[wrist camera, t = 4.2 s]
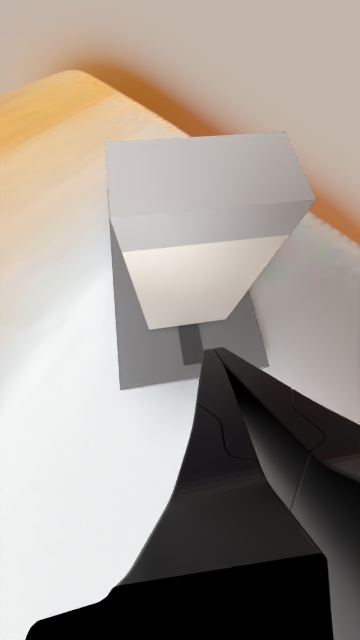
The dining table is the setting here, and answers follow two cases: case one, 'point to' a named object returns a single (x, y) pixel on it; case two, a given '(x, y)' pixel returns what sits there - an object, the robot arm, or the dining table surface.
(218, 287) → the fader handle
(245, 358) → the fader console
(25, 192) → the dining table surface
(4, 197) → the dining table surface
